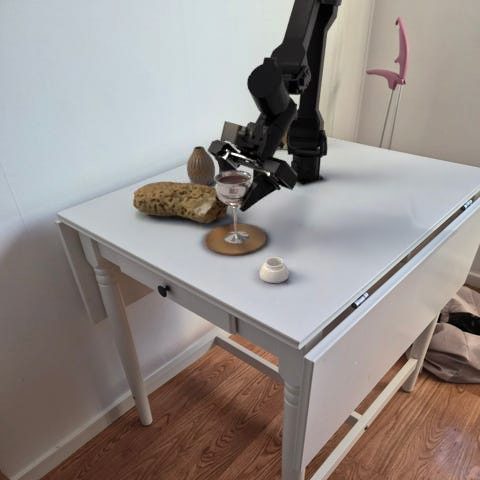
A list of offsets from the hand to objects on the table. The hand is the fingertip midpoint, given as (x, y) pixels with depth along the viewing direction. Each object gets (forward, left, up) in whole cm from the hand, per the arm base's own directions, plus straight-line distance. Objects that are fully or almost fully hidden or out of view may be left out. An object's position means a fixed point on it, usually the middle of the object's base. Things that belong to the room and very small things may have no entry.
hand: (228, 205), depth 78 cm
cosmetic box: (-39, -42, -8) cm, 58 cm away
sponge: (+4, -17, -8) cm, 19 cm away
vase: (-8, -30, -8) cm, 32 cm away
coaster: (-1, 0, -8) cm, 8 cm away
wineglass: (-1, 0, -7) cm, 7 cm away
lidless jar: (-1, +15, -8) cm, 17 cm away
